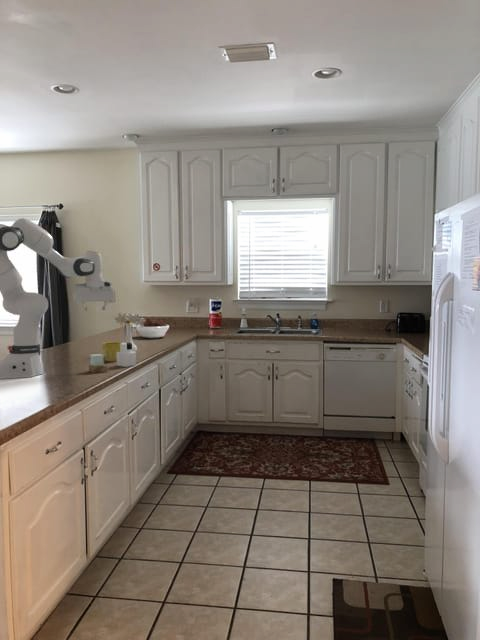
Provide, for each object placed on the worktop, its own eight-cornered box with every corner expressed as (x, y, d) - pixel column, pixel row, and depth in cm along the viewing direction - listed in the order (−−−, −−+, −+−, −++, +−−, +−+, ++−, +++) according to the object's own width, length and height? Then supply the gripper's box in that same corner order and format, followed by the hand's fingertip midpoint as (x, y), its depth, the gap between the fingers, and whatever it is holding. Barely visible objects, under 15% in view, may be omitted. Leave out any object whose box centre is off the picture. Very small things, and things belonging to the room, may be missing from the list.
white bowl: (137, 336, 399) (137, 316, 397) (169, 335, 401) (169, 316, 400) (134, 340, 374) (134, 319, 373) (168, 339, 377) (168, 319, 375)
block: (92, 373, 245) (92, 367, 245) (89, 370, 251) (88, 364, 251) (107, 371, 249) (107, 365, 249) (103, 369, 255) (103, 363, 255)
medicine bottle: (127, 363, 272) (127, 341, 271) (136, 365, 268) (135, 342, 267) (116, 365, 267) (116, 342, 266) (125, 367, 262) (124, 344, 261)
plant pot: (115, 358, 290) (115, 341, 289) (125, 360, 283) (125, 343, 282) (99, 360, 283) (99, 342, 282) (109, 362, 275) (108, 344, 275)
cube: (93, 366, 248) (93, 356, 247) (90, 364, 252) (90, 354, 251) (103, 365, 250) (103, 355, 250) (100, 363, 255) (100, 353, 254)
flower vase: (143, 356, 299) (143, 313, 296) (112, 355, 299) (111, 313, 297) (147, 352, 312) (147, 312, 309) (117, 352, 312) (117, 311, 309)
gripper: (74, 283, 253) (75, 311, 254) (115, 283, 264) (115, 310, 265) (71, 283, 259) (72, 310, 260) (111, 283, 269) (111, 309, 270)
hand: (94, 310), depth 263 cm, fingers open, 8 cm apart
